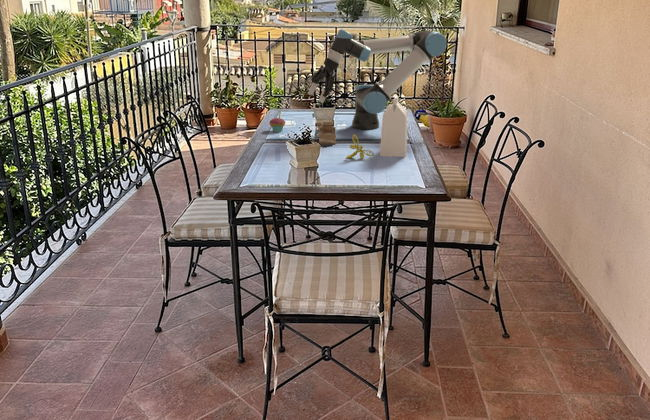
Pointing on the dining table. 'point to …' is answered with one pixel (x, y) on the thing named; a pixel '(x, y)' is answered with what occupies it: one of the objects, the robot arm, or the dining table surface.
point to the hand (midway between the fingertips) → (315, 98)
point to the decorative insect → (358, 149)
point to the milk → (394, 130)
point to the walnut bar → (327, 127)
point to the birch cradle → (327, 137)
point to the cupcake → (277, 123)
